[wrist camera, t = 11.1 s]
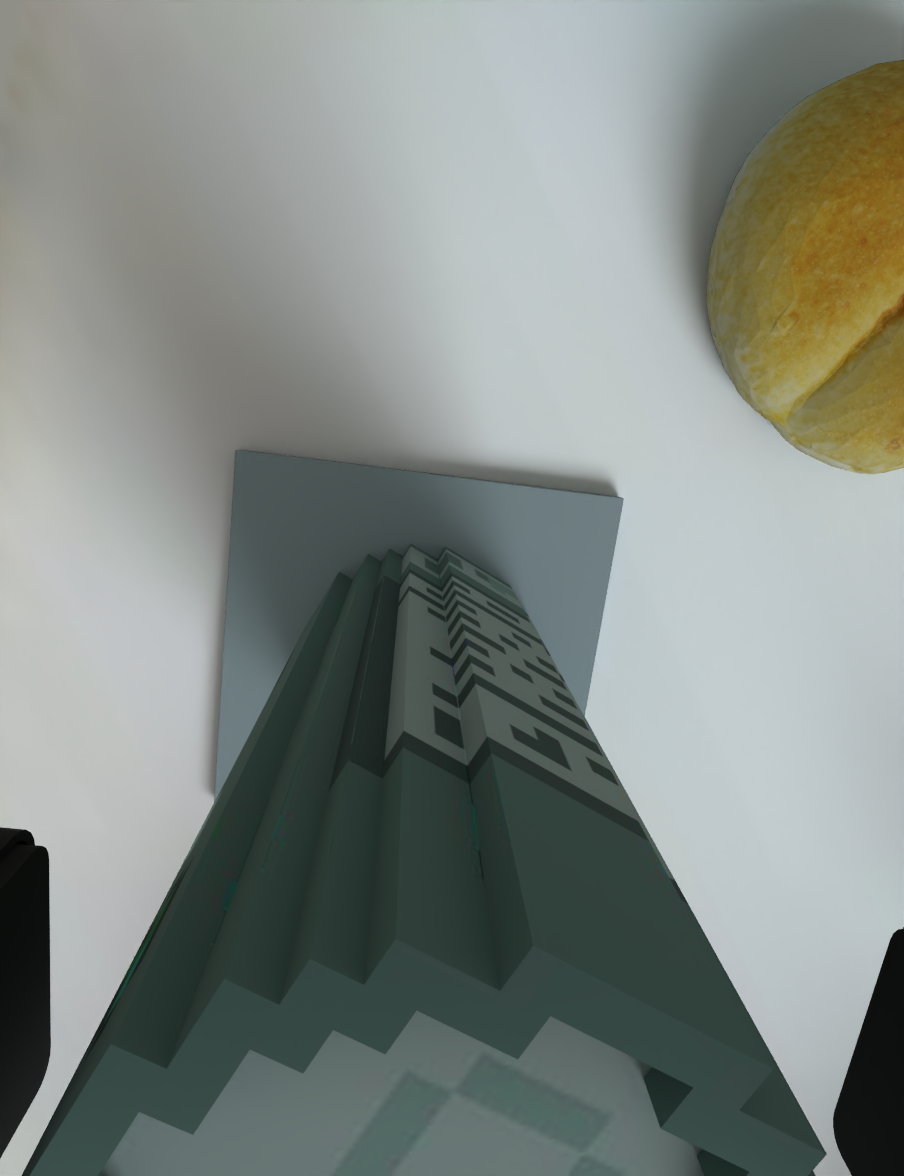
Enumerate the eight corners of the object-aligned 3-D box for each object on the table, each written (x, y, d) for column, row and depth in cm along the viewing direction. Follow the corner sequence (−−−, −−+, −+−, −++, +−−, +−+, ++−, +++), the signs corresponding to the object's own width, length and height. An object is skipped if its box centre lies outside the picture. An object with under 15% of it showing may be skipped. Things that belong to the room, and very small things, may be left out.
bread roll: (874, 16, 18) (1003, -96, 14) (1078, 299, 19) (1244, 271, 16) (620, 278, 19) (674, 242, 15) (836, 524, 21) (934, 550, 17)
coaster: (239, 449, 19) (235, 450, 19) (619, 496, 20) (623, 498, 19) (217, 801, 21) (214, 809, 21) (559, 831, 22) (562, 839, 22)
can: (263, 696, 20) (-131, 1435, 6) (378, 506, 19) (258, 804, 5) (453, 799, 21) (537, 1657, 7) (572, 623, 20) (985, 1179, 6)
